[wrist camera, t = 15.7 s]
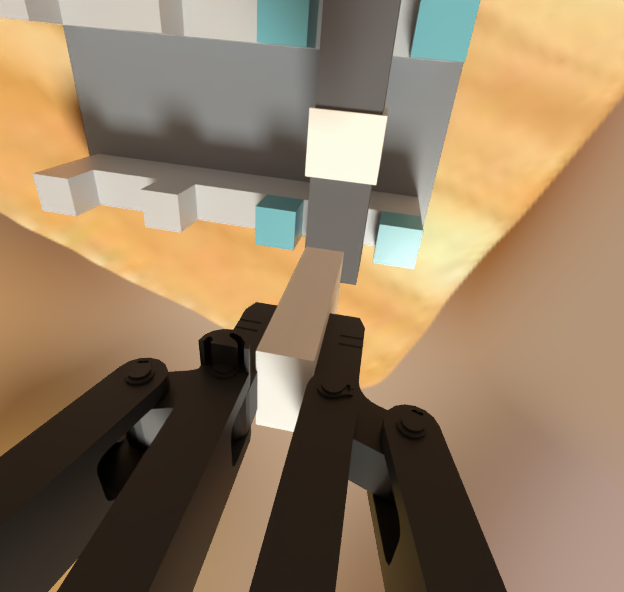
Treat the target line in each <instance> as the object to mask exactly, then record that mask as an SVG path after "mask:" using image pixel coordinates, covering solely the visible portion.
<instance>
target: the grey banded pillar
mask: <svg viewBox="0 0 624 592" xmlns="http://www.w3.org/2000/svg"><path fill="white" fill-rule="evenodd" d="M400 6H401V0H323V10H322V24H321V38H320V51H319V65H318V78H317V92H316V105H314V106H312V107H310V108H309V122H308V137H307V153H306V168H305V176H308V177H310V187H309V201H308V215H307V228H306V242H305V248H306V247H313V248H320V249H326V250H333V251H340V252H344V255H343V263H342V271H341V279H340V283H347V284H353V285H356V282H357V277H358V271H359V266H360V261H361V254H362V248H363V242H364V235H365V229H366V222H367V216H368V210H369V203H370V197H371V191H372V185H376V184H377V178H378V172H379V167H380V161H381V154H382V148H383V142H384V136H385V130H386V124H387V117H388V111H389V108H385V101H386V95H387V89H388V82H389V76H390V69H391V63H392V57H393V50H394V44H395V38H396V31H397V25H398V18H399V12H400Z"/></svg>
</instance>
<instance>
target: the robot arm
mask: <svg viewBox="0 0 624 592" xmlns="http://www.w3.org/2000/svg"><path fill="white" fill-rule="evenodd" d="M343 255H344V252H340V251H333V250H326V249H320V248H313V247H306V248H305V250H304V252H303V254H302V256H301V258H300V260H299V262H298V265H297V267H296V269H295V271H294V273H293V275H292V277H291V279H290V281H289V283H288V285H287V287H286V289H285V291H284V294H283V296H282V298H281V300H280V302H279V304H278V306H277V305H270V304H264V303H258V302H256V303H254V304H253V305H251V306H250V307H248V308H247V309H246V310H245V311H244V313H243V315H242V316H241V318H240V321H238V323H237V325H236V326H235V328H234V330H230V329H221V330H216V331H212V332H210V333H207V334H205V335H204V336H203V337H202V338H201V339H199V350H200V361H201V366H200V368H199V369H195V370H189V371H175V372H168V370H167V367H166V365H165V364H164V363H163V362H161V361H160V360H158V359H153V358H139V359H136V360H132V361H129V362H127V363H126V364H124V365H122V366H120V367H119V368H117V369H116V370H115V371H114V372H112V373H111V374H110V375H108V376H107V377H105V378H104V379H103V380H102V381H100V382H99V383H98V384H96V385H95V386H94V387H92V388H91V389H90V390H88V391H87V392H86V393H84V394H83V395H82V396H80V397H79V398H78V399H76V400H75V401H74V402H72V403H71V404H70V405H68V406H67V407H66V408H64V409H63V410H62V411H60V412H59V413H58V414H56V415H55V416H54V417H52V418H51V419H50V420H49V421H47V422H46V423H44V424H43V425H42V426H40V427H39V428H38V429H37V430H35V431H34V432H32V433H31V434H30V435H28V436H27V437H26V438H24V439H23V440H22V441H20V442H19V443H18V444H17V445H15V446H14V447H13V448H11V449H10V450H9V451H7V452H6V453H5V454H3V455H2V456H1V457H0V592H48V591H49V590H50V589H51V588H52V586H54V584H55V583H56V582H57V581H58V580H59V579H60V578H61V577H62V576H63V574H64V573H65V572H66V571H67V570H68V569H69V568H70V567H71V566H72V564H73V563H74V562H75V561H76V560H77V561H76V562H75V564H74V566H73V567H72V569H71V570H70V572H69V573H68V575H67V577H66V578H65V580H64V581H63V583H62V584H61V586H60V588H59V589H58V591H57V592H193V589H194V586H195V584H196V581H197V578H198V576H199V573H200V570H201V568H202V565H203V563H204V560H205V557H206V555H207V552H208V550H209V547H210V544H211V542H212V539H213V536H214V534H215V531H216V528H217V525H218V523H219V521H220V518H221V515H222V513H223V510H224V508H225V505H226V502H227V500H228V497H229V494H230V492H231V489H232V487H233V484H234V481H235V478H236V476H237V473H238V471H239V468H240V465H241V463H242V460H243V457H244V455H245V452H246V450H247V447H248V444H249V442H250V437H251V424H252V422H253V419H254V416H255V414H256V424H257V425H263V426H268V427H272V428H277V429H283V430H287V431H292V432H293V437H292V440H291V443H290V447H289V451H288V454H287V458H286V461H285V465H284V468H283V472H282V475H281V479H280V483H279V486H278V490H277V493H276V497H275V501H274V504H273V508H272V512H271V516H270V518H269V522H268V526H267V530H266V533H265V536H264V540H263V544H262V547H261V551H260V554H259V558H258V561H257V565H256V569H255V573H254V576H253V579H252V583H251V587H250V591H249V592H335V589H336V588H335V587H336V580H337V571H338V563H339V553H340V546H341V537H342V529H343V520H344V511H345V503H346V494H347V486H348V480H350V481H352V482H353V483H355V484H357V485H359V486H360V487H362V488H364V489H366V490H367V494H368V500H369V505H370V511H371V516H372V521H373V527H374V533H375V538H376V544H377V549H378V555H379V559H380V565H381V571H382V576H383V582H384V587H385V592H507V591H506V589H505V586H504V583H503V581H502V578H501V576H500V574H499V571H498V569H497V566H496V564H495V561H494V559H493V556H492V554H491V551H490V549H489V547H488V544H487V542H486V539H485V537H484V534H483V532H482V530H481V527H480V524H479V522H478V520H477V517H476V515H475V512H474V510H473V507H472V505H471V502H470V500H469V497H468V495H467V493H466V490H465V488H464V485H463V483H462V480H461V478H460V476H459V473H458V471H457V468H456V466H455V463H454V461H453V458H452V456H451V453H450V451H449V449H448V446H447V444H446V441H445V439H444V436H443V434H442V431H441V429H440V426H439V425H438V423H437V422H436V420H435V419H434V417H432V416H431V415H430V414H429V413H427V412H426V411H425V410H423V409H420V408H418V407H416V406H411V405H399V406H394V407H393V408H391V409H389V410H386V409H384V408H382V407H379V406H378V405H376V404H374V403H372V402H371V401H370V400H369V399H367V398H366V397H365V396H364V394H363V393H362V392H361V389H360V387H359V374H360V365H361V357H362V348H363V339H364V331H365V328H364V326H363V324H362V322H361V320H360V318H356V317H350V316H344V315H338V314H336V310H337V302H338V295H339V287H340V279H341V271H342V263H343Z"/></svg>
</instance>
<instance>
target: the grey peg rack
mask: <svg viewBox="0 0 624 592" xmlns="http://www.w3.org/2000/svg"><path fill="white" fill-rule="evenodd" d="M479 3H480V0H401V6H400V12H399V18H398V25H397V31H396V38H395V44H394V50H393V57H392V63H391V69H390V76H389V82H388V89H387V95H386V101H385V108H389V111H388V117H387V124H386V130H385V136H384V142H383V148H382V154H381V161H380V167H379V172H378V178H377V184H376V185H372V191H371V197H370V203H369V210H368V216H367V222H366V229H365V235H364V242H363V245H367V246H373V247H375V249H374V257H373V263H377V264H383V265H390V266H396V267H402V268H409V269H414V267H415V263H416V259H417V255H418V251H419V247H420V243H421V238H422V234H423V226H424V222H425V218H426V214H427V210H428V205H429V201H430V197H431V193H432V189H433V185H434V181H435V177H436V173H437V169H438V165H439V161H440V157H441V152H442V148H443V144H444V140H445V136H446V132H447V128H448V124H449V120H450V116H451V112H452V108H453V103H454V99H455V95H456V91H457V87H458V83H459V79H460V75H461V71H462V67H463V63H464V62H465V60H466V56H467V52H468V48H469V44H470V40H471V36H472V32H473V28H474V24H475V20H476V15H477V11H478V7H479ZM322 10H323V0H0V18H5V19H13V20H22V21H31V22H40V23H49V24H58V25H63V27H64V32H65V37H66V42H67V47H68V52H69V57H70V62H71V66H72V71H73V76H74V81H75V86H76V91H77V96H78V100H79V105H80V110H81V115H82V120H83V125H84V130H85V135H86V139H87V144H88V149H89V154H90V156H89V157H86V158H83V159H79V160H76V161H73V162H70V163H66V164H63V165H60V166H56V167H53V168H50V169H46V170H43V171H40V172H36V173H33V178H34V181H35V185H36V188H37V192H38V195H39V199H40V202H41V206H42V209H43V211H47V212H53V213H59V214H66V215H72V216H78V215H80V214H82V213H84V212H86V211H88V210H90V209H93V208H95V207H97V206H99V205H105V206H111V207H118V208H124V209H131V210H137V211H143V213H144V220H145V227H148V228H155V229H161V230H167V231H174V232H180V233H181V232H183V231H184V230H185V229H187V228H188V227H189V226H190V225H192V224H193V223H194V222H196V221H197V220H203V221H209V222H216V223H223V224H229V225H236V226H242V227H249V228H255V244H256V245H263V246H269V247H275V248H282V249H288V250H294V248H295V247H296V245H297V243H298V241H299V240H300V238H301V236H306V228H307V215H308V201H309V187H310V177H308V176H305V168H306V153H307V137H308V122H309V108H310V107H312V106H314V105H316V92H317V78H318V65H319V51H320V38H321V24H322Z"/></svg>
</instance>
